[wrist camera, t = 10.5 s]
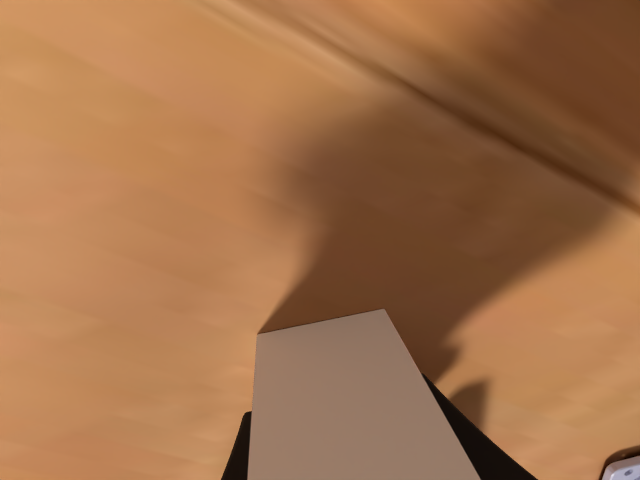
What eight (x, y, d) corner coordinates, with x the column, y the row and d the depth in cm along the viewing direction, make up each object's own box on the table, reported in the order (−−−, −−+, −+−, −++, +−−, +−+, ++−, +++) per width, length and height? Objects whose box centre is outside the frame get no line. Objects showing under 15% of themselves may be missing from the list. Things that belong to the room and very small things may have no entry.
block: (384, 308, 11) (489, 494, 6) (390, 399, 13) (474, 605, 8) (256, 334, 11) (242, 559, 6) (281, 423, 13) (288, 658, 7)
